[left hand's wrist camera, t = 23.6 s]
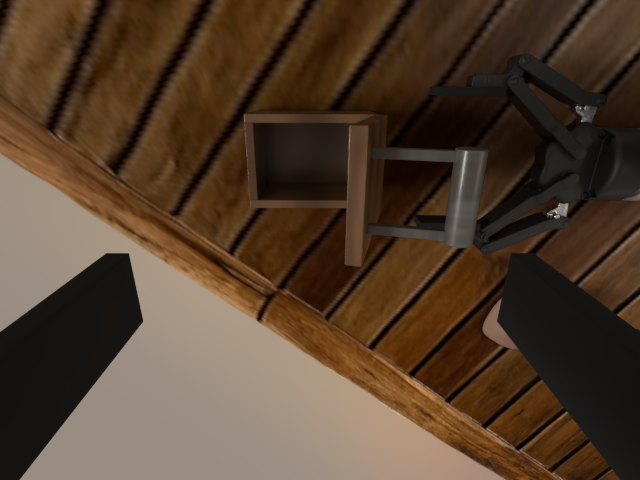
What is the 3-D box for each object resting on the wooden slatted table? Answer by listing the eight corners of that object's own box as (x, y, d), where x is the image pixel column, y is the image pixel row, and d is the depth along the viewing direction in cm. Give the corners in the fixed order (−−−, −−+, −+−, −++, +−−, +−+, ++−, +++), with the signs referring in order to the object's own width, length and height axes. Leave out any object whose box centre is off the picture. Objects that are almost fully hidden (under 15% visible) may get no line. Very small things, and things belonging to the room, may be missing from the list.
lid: (344, 265, 25) (474, 280, 23) (349, 124, 22) (501, 128, 20) (369, 209, 37) (456, 216, 36) (375, 114, 34) (470, 115, 32)
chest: (262, 187, 46) (250, 207, 38) (258, 110, 43) (243, 113, 34) (364, 187, 46) (374, 208, 38) (368, 110, 43) (380, 114, 34)
